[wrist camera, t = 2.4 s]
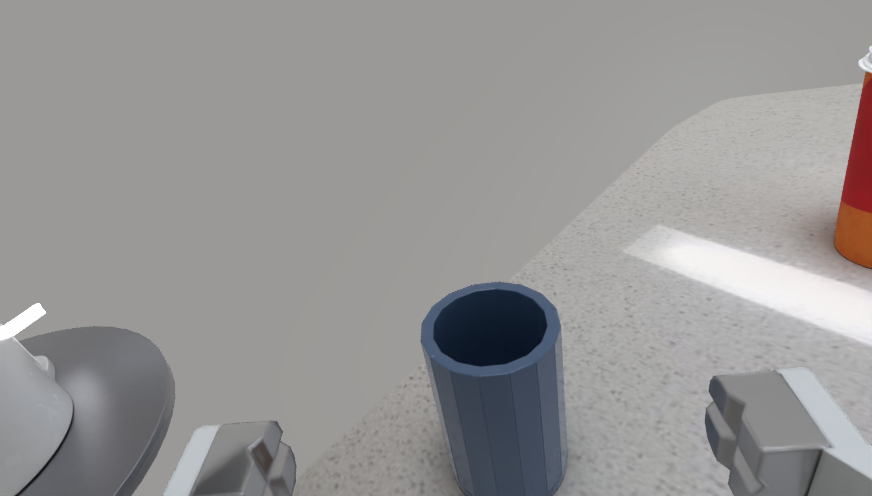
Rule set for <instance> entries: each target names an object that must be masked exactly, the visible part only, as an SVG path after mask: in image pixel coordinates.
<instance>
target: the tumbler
mask: <svg viewBox="0 0 872 496" xmlns="http://www.w3.org/2000/svg"><path fill="white" fill-rule="evenodd" d="M421 345H422V349H423V353H424V357H425V361H426V366H427V370H428V374H429V378H430V382H431V387H432V391H433V395H434V399H435V403H436V407H437V412H438V416H439V420H440V424H441V428H442V433H443V437H444V441H445V445H446V449H447V454H448V458H449V462H450V466H451V468H452V470H453V474H454V477H455V480H456V482H457V484H458V485H459V487H460V489H461V490H462V491H463V492H464V493H465V494H466V495H467V496H552V495H553V494H554V493H555V492H556V490H557V489H558V487H559V486H560V484H561V482H562V480H563V478H564V475H565V471H566V463H567V439H566V419H565V398H564V377H563V357H562V336H561V324H560V320H559V316H558V312H557V309H556V308H555V306H554V305H553V304H552V303H551V302H550V301H549V300H548V299H547V298H546V297H545V296H544V295H543V294H541V293H539V292H537V291H535V290H532V289H530V288H528V287H525V286H523V285H520V284H512V283H504V282H492V283H484V284H475V285H471V286H468V287H466V288H463V289H460V290H457V291H455V292H452V293H450V294H448V295H447V296H446V297H444V298H443V299H442V300H440V301H439V302H438V303H436V304H435V305H434V306H433V307H432V308H431V310H430V311H429V313H428V314H427V316H426V317H425V319H424V320H423V322H422V327H421Z"/></svg>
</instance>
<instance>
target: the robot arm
mask: <svg viewBox="0 0 872 496" xmlns="http://www.w3.org/2000/svg"><path fill="white" fill-rule="evenodd" d="M43 314H45V311H44V310H43V309H42V307H41V306H40V304H35V305H34V306H32V307H31V308H29V309H28V310H26V311H25V312H23V313H22V314H21V315H19V316H18V317H16V318H15V319H13V320H12V321H10V322H9V323H7V324H6V325H4V326H2V324H1V323H0V496H15V495H16V494H17V493H19V492H20V491H21V490H22V489H23V488H24V487H25V486H26V485H27V484H28V483H29V482H30V481H31V480H32V479H33V478H34V477H35V476H36V475H37V474H38V472H39V471H40V470H41V469H42V468H43V467H44V466H45V464H46V463H47V462H48V461H49V459H50V458H51V457H52V455H53V454H54V453H55V451H56V450H57V448H58V447H59V445H60V443H61V442H62V440H63V438H64V436H65V435H66V433H67V430H68V428H69V425H70V423H71V419H72V414H73V402H72V399H71V397H70V395H69V393H68V392H67V391H66V390H65V389H64V388H62V387H61V386H60V385H59V384H58V383H57V382H56V381H55V372H56V370H55V365H54V364H53V363H52V362H51V361H50V360H49V359H48V358H47V357H46V356H43V355H40V356H35V357H33V356H32V355H31V354H30V353H29V352H28V351H27V350H26V349H25V348H24V347H23V346H22V345H21V344H20V343H19V342H18V341H17V340H16V339H15V338H14V337H13V335H15V334H16V333H18V332H19V331H20V330H22V329H23V328H25V327H26V326H28V325H29V324H31V323H32V322H33V321H35V320H36V319H38V318H39V317H40V316H42V315H43ZM709 393H710V395H711V396H712V398H713V400H714V401H713V402H712V403H711V404H710V405H709V406H708V407H706V414H705V425H706V432H707V437H708V440H709V443H710V446H711V449H712V451H713V453H714V455H715V457H716V460H717V461H718V462H720V463H721V464H722V465H724V466H725V467H727V468H728V469H729V470H730V475H729V481H728V485H729V487H730V489H731V491H732V493H733V495H734V496H872V444H871V445H870V444H869V443H868V442H867V441H866V439H865V438H864V437H863V436H862V434H861V433H860V432H859V430H858V429H857V428H856V427H855V425H854V424H853V423H852V422H851V420H850V419H849V418H848V416H847V415H846V414H845V413H844V411H843V410H842V409H841V408H840V406H839V405H838V404H837V403H836V401H835V400H834V399H833V397H832V396H831V395H830V394H829V392H828V391H827V390H826V389H825V387H824V386H823V385H822V383H821V382H820V381H819V380H818V378H817V377H816V376H815V375H814V373H813V372H812V371H811V370H809V369H808V368H806V367H795V368H786V369H776V370H763V371H754V372H745V373H736V374H727V375H718V376H713V378H712V379H711V381H710V385H709ZM282 433H283V431H282V429H281V428H280V426H279V424H278V422H277V421H260V422H246V423H233V424H222V425H210V426H200V427H199V428H198V429H197V430H196V431H194V432H193V434H192V436H191V438H190V440H189V442H188V444H187V446H186V448H185V450H184V452H183V454H182V456H181V458H180V460H179V462H178V464H177V466H176V468H175V470H174V472H173V474H172V476H171V478H170V480H169V483H168V485H167V487H166V489H165V491H164V493H163V495H162V496H292V494H293V490H294V486H295V482H296V462H295V457H294V454H293V452H292V450H291V447H290V446H288V445H287V444H285V443H283V442H282V441H280V440H281V436H282Z"/></svg>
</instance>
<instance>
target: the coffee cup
mask: <svg viewBox="0 0 872 496" xmlns="http://www.w3.org/2000/svg"><path fill="white" fill-rule="evenodd" d="M858 65H859V67H860V68H861V69H862V70H864V71H866V73H865V78H864V83H863V89H862V94H861V99H860V104H859V109H858V114H857V119H856V124H855V130H854V135H853V140H852V145H851V150H850V155H849V160H848V165H847V171H846V176H845V181H844V186H843V192H842V197H841V202H840V208H839V213H838V219H837V225H836V231H835V239H834V244H835V247H836V249H837V250H838V252H839V253H840V254H841V255H843V256H844V257H845V258H847V259H849V260H851V261H852V262H855V263H857V264H859V265H862V266H865V267H868V268H872V46H870V48H869V53H868V54H867V55H866V56H865V57H864V58H862V59H860V60H859V63H858Z"/></svg>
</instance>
